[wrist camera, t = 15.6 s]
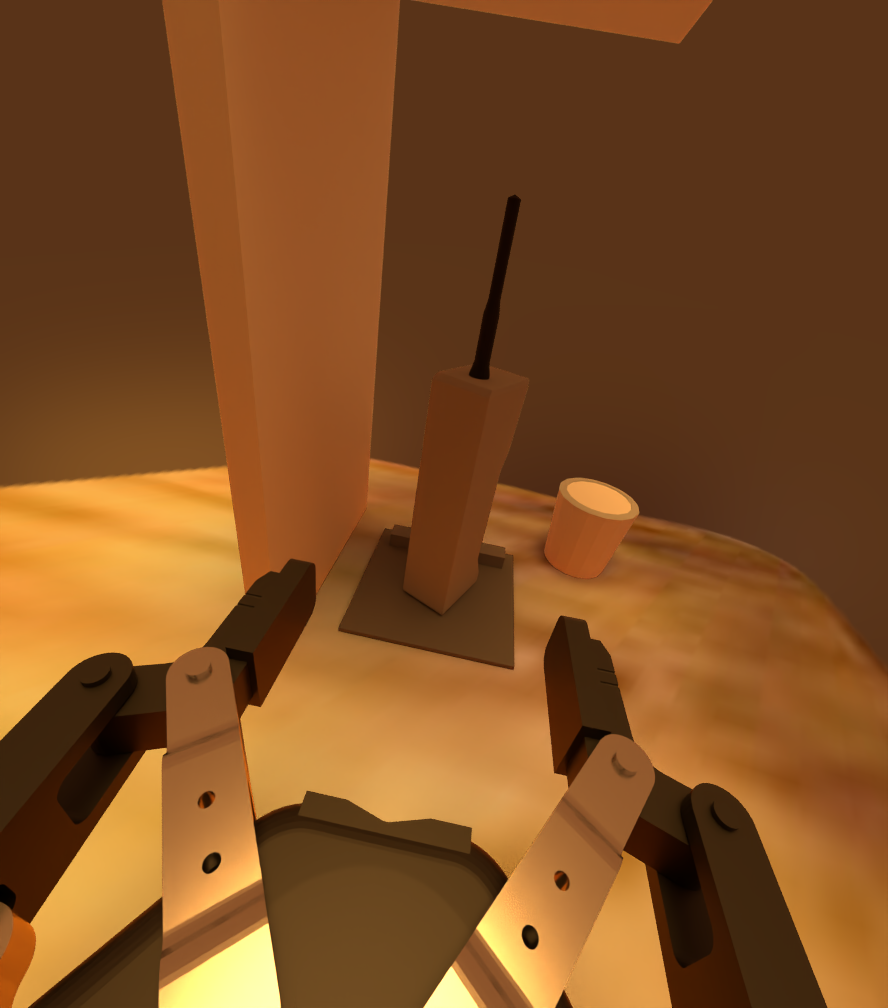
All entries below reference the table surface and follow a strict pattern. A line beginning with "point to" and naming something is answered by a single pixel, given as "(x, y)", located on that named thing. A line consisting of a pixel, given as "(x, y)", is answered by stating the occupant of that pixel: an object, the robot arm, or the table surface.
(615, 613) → the table surface
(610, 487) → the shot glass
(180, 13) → the overhang shelf
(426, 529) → the vintage mobile phone
